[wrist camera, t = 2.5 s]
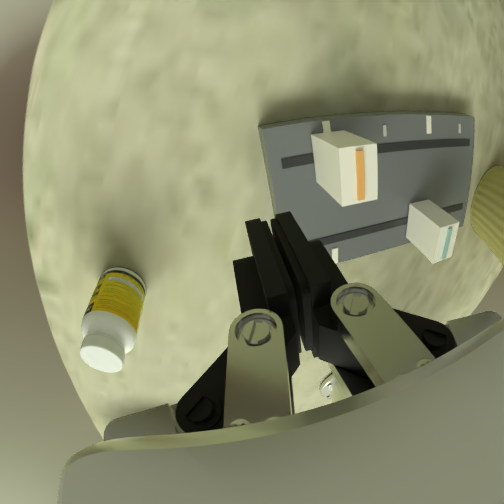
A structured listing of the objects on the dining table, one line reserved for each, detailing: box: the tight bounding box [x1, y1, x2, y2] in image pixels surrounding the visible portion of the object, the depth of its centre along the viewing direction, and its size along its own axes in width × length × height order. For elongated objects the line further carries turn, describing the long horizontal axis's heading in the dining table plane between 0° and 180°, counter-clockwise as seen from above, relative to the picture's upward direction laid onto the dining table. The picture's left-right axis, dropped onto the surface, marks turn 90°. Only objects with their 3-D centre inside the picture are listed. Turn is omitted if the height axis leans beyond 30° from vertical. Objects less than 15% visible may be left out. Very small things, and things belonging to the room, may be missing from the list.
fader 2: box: [406, 199, 459, 264], centre depth 23 cm, size 4×3×5 cm
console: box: [258, 111, 474, 264], centre depth 24 cm, size 14×24×2 cm, turn 101°
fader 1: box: [311, 130, 378, 207], centre depth 18 cm, size 4×3×5 cm
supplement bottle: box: [80, 267, 146, 372], centre depth 23 cm, size 5×5×10 cm
